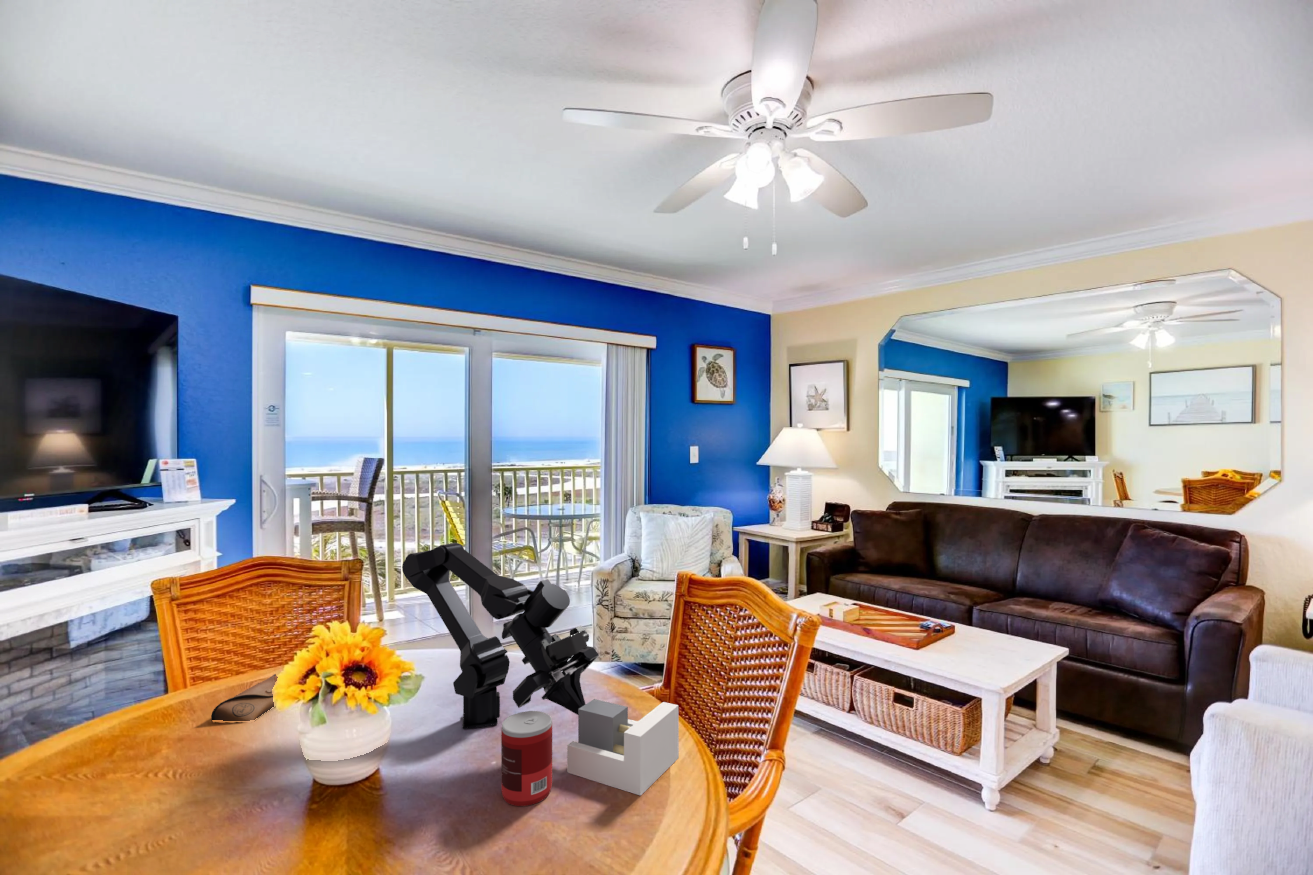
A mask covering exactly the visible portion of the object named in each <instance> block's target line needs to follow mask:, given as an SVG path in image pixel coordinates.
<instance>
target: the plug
mask: <svg viewBox="0 0 1313 875" xmlns="http://www.w3.org/2000/svg"><path fill="white" fill-rule="evenodd" d="M628 708H629V707H628V706H626V705H621V704H617V703H612V702H610V701H604V700H601V699H596V698H594V699H592V700H590V701H589V702H587V703H585V705H584V706H582V707H581V708H579V709H578V715H577V717H578V718H577V719H578V722H577V723H578V724H577V726H578V728H577V729H578V730H577V731H578V733H577V734H578V737H577V738H578V741H577V742H578V743H581V744H585V745H588V746H592V747H595V748H599V749H602V750H606V751H609V752H613V753H616V754H620V755H623V756H624V732H625V731H626V730H628V729H629V728H630V726H628V719H629V718H628V717H629V715H628V714H629V713H628V712H629V710H628Z"/></svg>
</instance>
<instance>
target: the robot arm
mask: <svg viewBox="0 0 1313 875" xmlns="http://www.w3.org/2000/svg"><path fill="white" fill-rule="evenodd" d="M401 568H402V573H403V575H404V577H405V578H406V579H407V581H408V582H409V584H410V585H411V586H412V588H414V589H417V590H418V591H420V592H423V593H424V594H426V595H427V598H429V600H430V602H431V604H432V605H433V607H434V608H435V610H436V612H437V614H438V615H439V617H440V619H441V620H442V622H443V624H444V625H445V627H446V629H447V631H448V632H449V633H450V635H451V638H452V639H453V640H454V642H455V644H456V645H457V648H458V649H459V651H460V658H459V668H460V670H461V672H460V674H459V675H458V677H456V678H455V680H454V681H453V689H454V693H455V694H456V695H459V696H462V697H463V698H462V700H463V701H462V702H463V703H462V709H463V714H462V726H461V727H462V730H463V729H464V730H466V729H473V728H474V729H476V728H483V727H491V726H496V725H498V722H499V721H498V719H499V718H500V717H501V695H500V691H498V689H497V687H499V686H501V685H505V682H506V678H507V675H508V673H509V669H510V663H511V662H510V658H509V656H508V655H507V654H508V650H507V649H505V648H504V646H503V645H502V642H501V641H500V639H499V637H497V636H492V637H487V636H485V635H484V634H483V633H482V631H481V630H480V628H479V627H478V625H477V623H476V622H475V620H474V618H473V617H472V615H471V614H470V612H469V611H468V609H467V607H466V606H465V604H464V602H463V601H462V599H461V598H460V596H459V595H458V593H457V591H456V590H455V587H454V586H453V585H452V583H451V582H450V574H451V573H452V574H453V575H455V576H456V577H458V579H460V580H461V581H462V582H463V583H464V584H466V585H467V586H468V587H470V588H471V589H472V590H473V591H474V592H475V593H477V594H478V596H479V597H480V601H481V605H482V607H483V608H485V610H486V612H487V613H489V615H490V616H491V617H492V618H493V619H495V620H503V619H505V618H509V617H512V616H514V615H515V616H514V618H513V619H511V620H510V621H508V622H504V623H503V624H502V627H503V629H502V632H501V638H502V639H503V640H505V639H508V638H509V637H510V638H511V637H512V639H513V640H514V642H515V643H516V645H517V647H518V648H519V649H520V651H521V652H522V653H523V655H524V657H522V659H521V661H522V663H523V664H524V665H525V666H526V665H527V664H530V666H531V668H532V669H533V670H534V672H532V673H531V674H529V675H526V677H525V678H523V680H522V681H521V682H520V683H519V684H518V685H517V686H516V687H515V689H513V691H512V700H513V702H514V703H515V704H516V706H517V707H518V709H520V708H521V707H524V706H525V705H527V704H529V703H530V702H531V700H532V696H533V693H535V692H537V691H539V690H541V689H543V691H544V694H543V695H542V696H541V700H544V701H545V700H548V701H550V702H552V703H554V704H556V705H559V707H562V708H565V709H566V710H568V711H570V712H572V713H573V714H575V715H577V716H578V709H579V708H581V707H582V706H584V705H585V704H586V700H585V697H584V694H583V690H582V686H581V675H582V673H583V672H585V671H586V669H588V668H589V667H590V666H591V665H592V664H593V662H595V661H596V660H597V658H598V657H599V656H600V655H599V653H598V652H597V650H596V649H595V648H594V647H593V646H589V645H588V644H587V642H589V640H590V635H589V633H588V631H587V630H586V629H585V628H584V627H583V626H582V625H579V626H575V627H574V628H571V629H570V630H569V635H568V636H565V637H564V638H561V637H560V635H558V634H556V633H555V634H553V635H551V634H550V632H549V631H548V630H547V628H550V627H551V626H553V624H554V623H555V622H556V621H557V620H558V619H559V618H560V617H561V615H562V614H563V613H564V612H565V611H566V610H567V608H568V607H569V606H570V603H571V601H570V600H571V599H570V596H569V593H568V592H567V591H566V589H563V588H562V587H561V586H559V585H557V584H554V583H551V581H550V580H549V579H543V580H540V581H539V582H538V583H537V584H536V586H535V588H534V590H532V589H528V587H527V586H526V585H525V584H524V583H522V582H520V581H517V580H516V579H513V578H511V577H505V576H503V575H499V574H497V573H496V572H494V571H493V570H492V569H490V568H489V567H488V566H486V565H485V564H484V563H483V562H482V561H480V560H478V558H476V557H475V556H474V555H472V554H471V553H469V552H468V551H467V550H465V548H464V546H463V545H462V544H461V543H458V542H452V543H446V544H445V543H444V544H439V546H437V547H435V548H433V549H430V550H425V551H417V552H412V553H409V554H408V555H407V556H406V557H405V559H404V561H403V562H402V566H401ZM450 572H451V573H450Z"/></svg>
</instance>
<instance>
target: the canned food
mask: <svg viewBox="0 0 1313 875" xmlns="http://www.w3.org/2000/svg"><path fill="white" fill-rule="evenodd" d="M500 731H501V734H500V737H501V739H500V741H501V742H500V743H501V744H500V747H501V750H500V751H501V752H500V754H501V755H500V756H501V758H500V759H501V768H500V770H501V776H500V777H501V795H502V797H503V800H504V802H506V803H507V804H508V805H511V806H515V807H528V806H533V805H535V804H538V803H540V802H542V801H543V800H545V799H546V798H547V797H548V796H549V795H550V793H551V791H552V787H553V718H552V716H551V715H550V714H548V713H547V712H543V711H538V710H526V711H521V712H517V713H514V714H512V715H509V716H508V717H506V718H505V719H504V720H503V721H502V723H501V730H500ZM532 804H533V805H532Z"/></svg>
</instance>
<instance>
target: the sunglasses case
mask: <svg viewBox="0 0 1313 875" xmlns="http://www.w3.org/2000/svg"><path fill="white" fill-rule="evenodd" d="M278 677H279V676H277V674H276V673H274V674H272V676H270V677H269V678H267V679H265V680H263V681H260V682H258V683H257V684H255V685H253V686H251V687H249V688H247V689H245V690H244V691H242V692H240V693H238V694H236V695H235V696H233V697H229V698H228V699H225V700H223V701H222V702H220V703H218V705H216V706H215V707H214V708H213V710H212V712H211V718H210V719H211V721H212V720H223V721H250V720H255V719H256V718H258V717H259V716H261V715H262V714H263V715H264V713H265V712H266V713H268V712H269V711H271V710H272V709H271V708H272V707H274V702H273V694H272V689H273V687H274V685H275V682H276V681H277V678H278ZM274 708H275V707H274ZM270 709H271V710H270ZM268 710H269V711H268ZM267 711H268V712H267ZM266 713H265V714H266ZM263 715H262V716H263ZM262 716H261V717H262ZM259 718H260V717H259ZM259 718H258V719H259ZM255 721H256V720H255Z"/></svg>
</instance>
